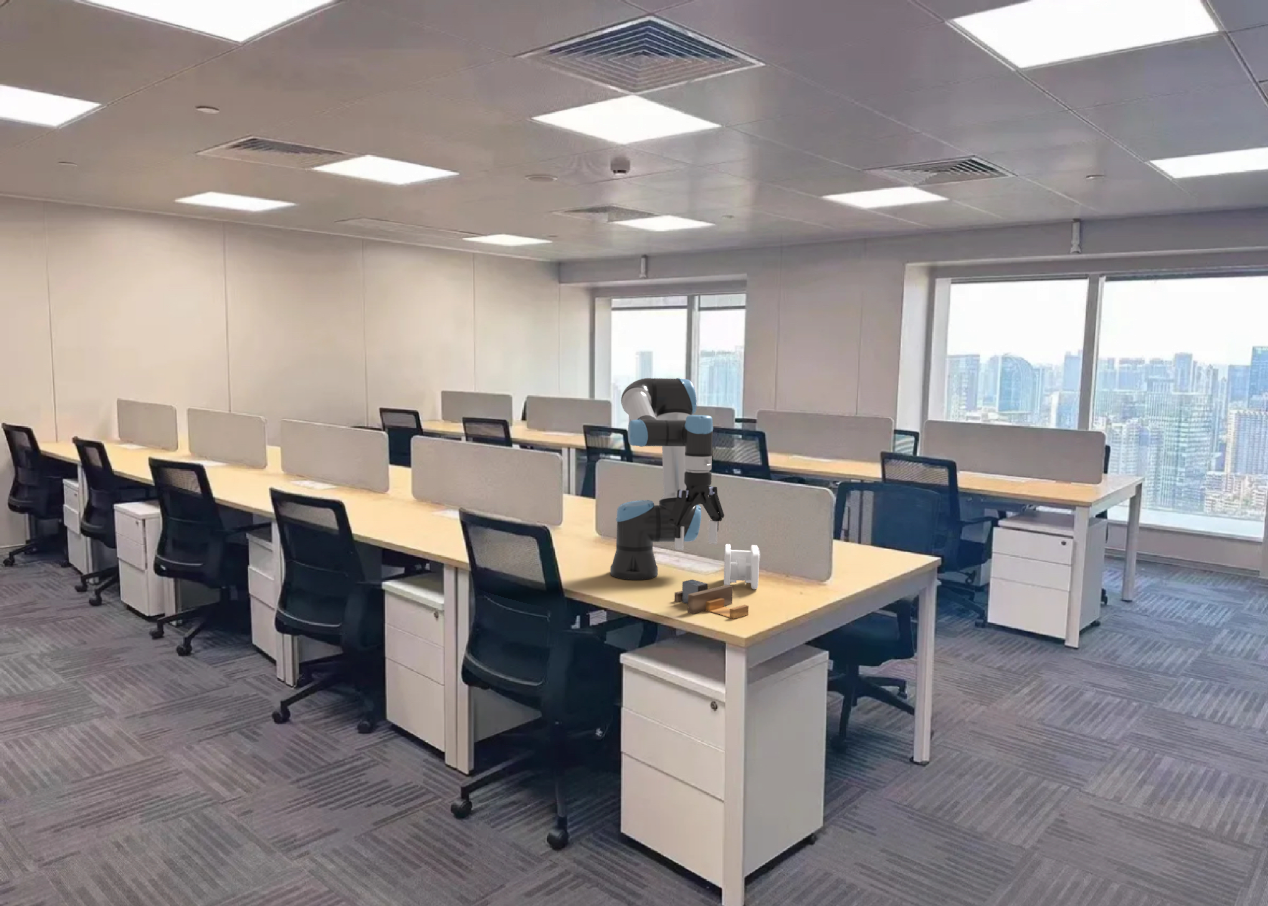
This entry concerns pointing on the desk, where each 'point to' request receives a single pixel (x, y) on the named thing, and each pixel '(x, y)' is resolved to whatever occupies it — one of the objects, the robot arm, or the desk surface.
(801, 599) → the desk surface
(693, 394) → the robot arm
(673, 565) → the desk surface
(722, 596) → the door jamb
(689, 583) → the block
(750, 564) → the cable organizer
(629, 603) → the desk surface
